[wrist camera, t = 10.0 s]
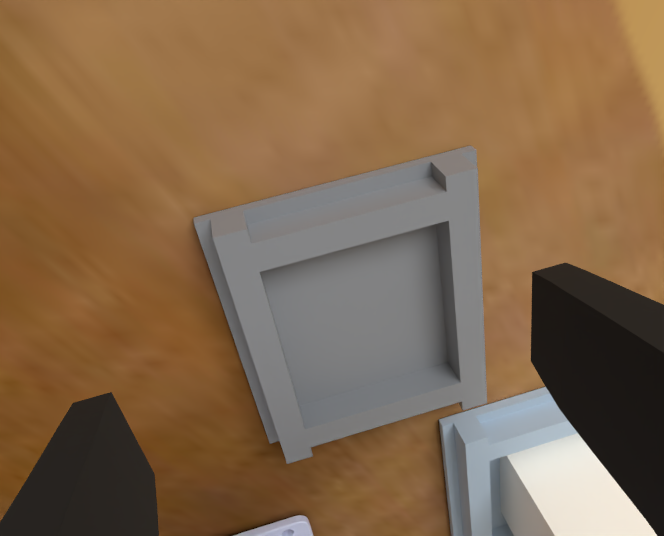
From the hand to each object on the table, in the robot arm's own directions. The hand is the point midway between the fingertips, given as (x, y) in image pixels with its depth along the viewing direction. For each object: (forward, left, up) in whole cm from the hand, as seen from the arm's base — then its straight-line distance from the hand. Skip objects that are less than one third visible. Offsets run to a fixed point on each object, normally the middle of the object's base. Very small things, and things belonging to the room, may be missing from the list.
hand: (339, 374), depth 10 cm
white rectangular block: (+9, -18, -9) cm, 22 cm away
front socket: (+2, -6, -9) cm, 11 cm away
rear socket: (+9, -18, -9) cm, 22 cm away
